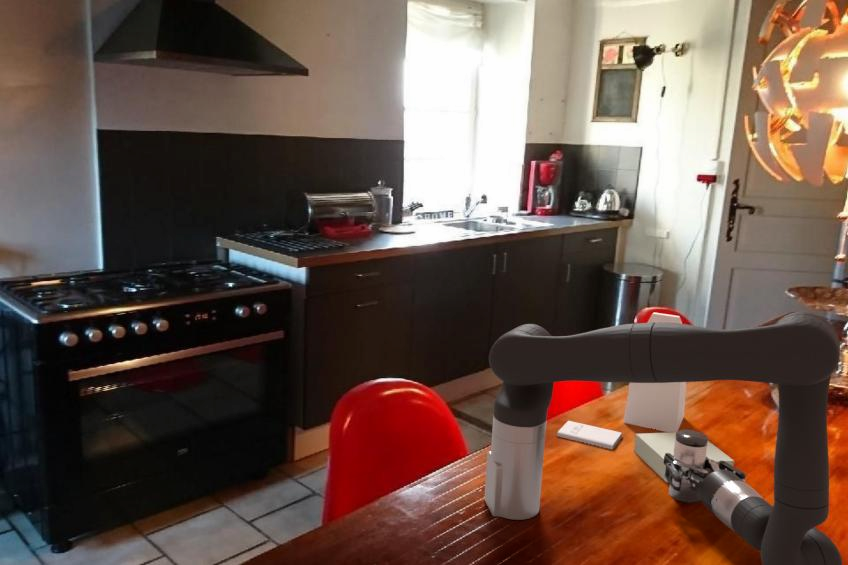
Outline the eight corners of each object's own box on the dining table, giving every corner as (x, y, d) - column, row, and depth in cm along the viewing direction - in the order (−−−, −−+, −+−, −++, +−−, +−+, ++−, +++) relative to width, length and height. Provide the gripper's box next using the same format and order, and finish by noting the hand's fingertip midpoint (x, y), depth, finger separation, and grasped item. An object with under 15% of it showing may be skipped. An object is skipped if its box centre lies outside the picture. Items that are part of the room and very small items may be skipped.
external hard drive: (612, 452, 153) (556, 438, 159) (621, 438, 160) (568, 425, 166) (612, 445, 152) (557, 431, 158) (622, 432, 160) (568, 419, 165)
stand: (666, 482, 139) (668, 463, 138) (633, 451, 153) (635, 433, 152) (731, 479, 142) (734, 460, 141) (693, 448, 155) (695, 431, 154)
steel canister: (678, 503, 131) (686, 442, 129) (663, 488, 137) (670, 430, 134) (706, 501, 132) (714, 441, 130) (690, 487, 138) (697, 429, 135)
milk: (683, 417, 173) (696, 313, 167) (676, 434, 163) (689, 324, 157) (633, 407, 178) (644, 306, 173) (623, 422, 168) (634, 316, 163)
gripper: (775, 479, 120) (718, 437, 136) (697, 483, 117) (648, 439, 133) (769, 519, 121) (713, 473, 138) (691, 524, 119) (644, 476, 135)
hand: (681, 457), depth 135 cm, fingers closed on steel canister, 5 cm apart
